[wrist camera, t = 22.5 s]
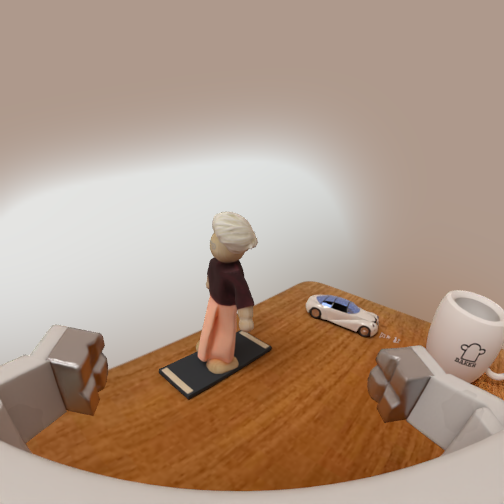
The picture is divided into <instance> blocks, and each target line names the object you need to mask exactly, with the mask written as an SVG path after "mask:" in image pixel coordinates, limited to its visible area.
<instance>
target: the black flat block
mask: <svg viewBox="0 0 504 504" xmlns="http://www.w3.org/2000/svg"><path fill="white" fill-rule="evenodd" d="M270 350H271V346H269V345H268V344H266V343H264V342H262V341H261V340H259V339H257V338H255V337H254V336H252V335H250V334H249V333H247V332H243V331H241V330H240V331H238V332H236V337H235V350H234V357H236V359H237V360H238V364H239V365H238V367H237V368H235V369H233V370H230V371H228V372H226V373H223V374H215V373H212V372H211V371H209V369H208V368H207V366H206V363H207V361H208V360H207V361H205V362H203V361H201V360H200V359H199V358H198V352H195V353H193V354H191V355H189V356H187V357H185V358H183V359H180V360H178V361H176V362H174V363H172V364H170V365H167V366H165V367H163V368H161V369H159V373H160V374H161V375H162V376H163V377H164V378H165V379H166V380H167V381H169V382H170V383H171V384H172V385H173V386H174V387H175V388H176V389H177V390H178V391H180V392H181V393H182V394H183V395H184V396H185V397H186V398H187V399H190V398H192V397H194V396H195V395H197V394H199V393H201V392H202V391H204V390H206V389H208V388H209V387H211V386H213V385H215V384H216V383H218V382H220V381H222V380H223V379H225V378H227V377H228V376H230V375H232V374H233V373H235V372H237V371H238V370H240V369H241V368H243V367H245V366H246V365H248V364H250V363H251V362H253V361H254V360H256V359H258V358H259V357H261V356H262V355H264V354H265V353H267V352H269V351H270Z"/></svg>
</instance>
